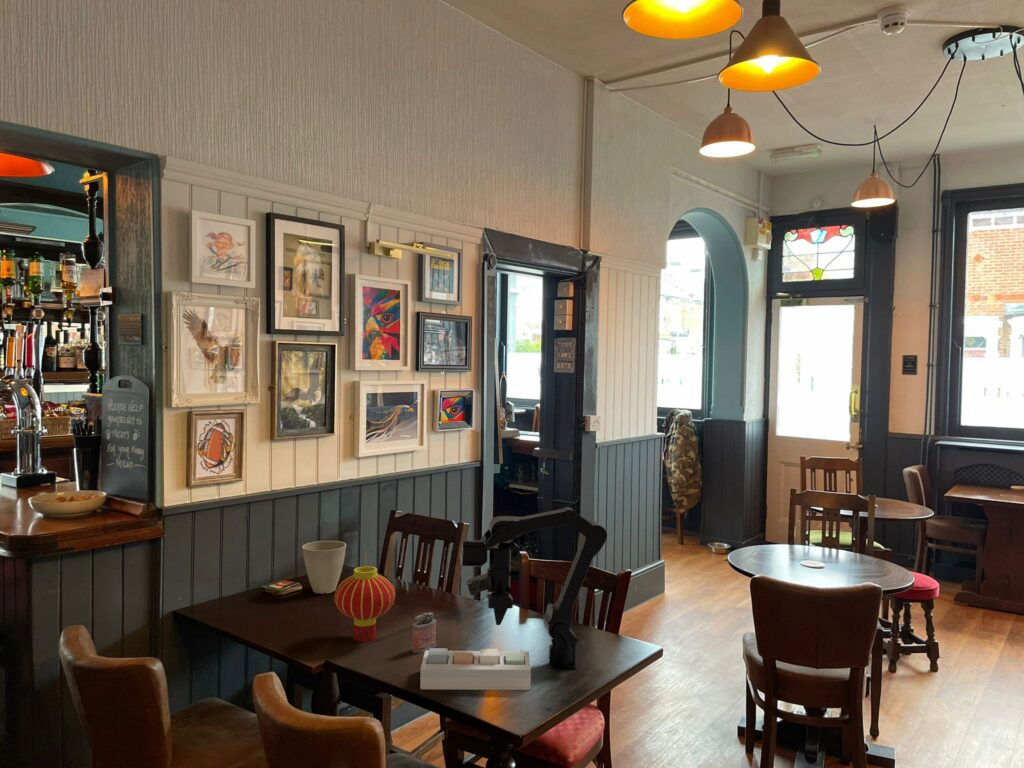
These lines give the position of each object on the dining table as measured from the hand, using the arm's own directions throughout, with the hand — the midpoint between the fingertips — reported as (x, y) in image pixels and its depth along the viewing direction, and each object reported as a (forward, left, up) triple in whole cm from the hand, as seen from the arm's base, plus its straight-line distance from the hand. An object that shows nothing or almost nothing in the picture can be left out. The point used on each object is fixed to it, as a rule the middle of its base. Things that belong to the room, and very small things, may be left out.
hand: (498, 624), depth 198 cm
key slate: (+15, +8, -7) cm, 18 cm away
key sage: (-4, +8, -8) cm, 12 cm away
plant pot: (+60, -65, -12) cm, 90 cm away
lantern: (+38, -20, -12) cm, 45 cm away
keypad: (+5, +8, -11) cm, 15 cm away
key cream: (+2, +8, -7) cm, 10 cm away
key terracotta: (+9, +8, -8) cm, 14 cm away
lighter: (+20, -12, -12) cm, 27 cm away
